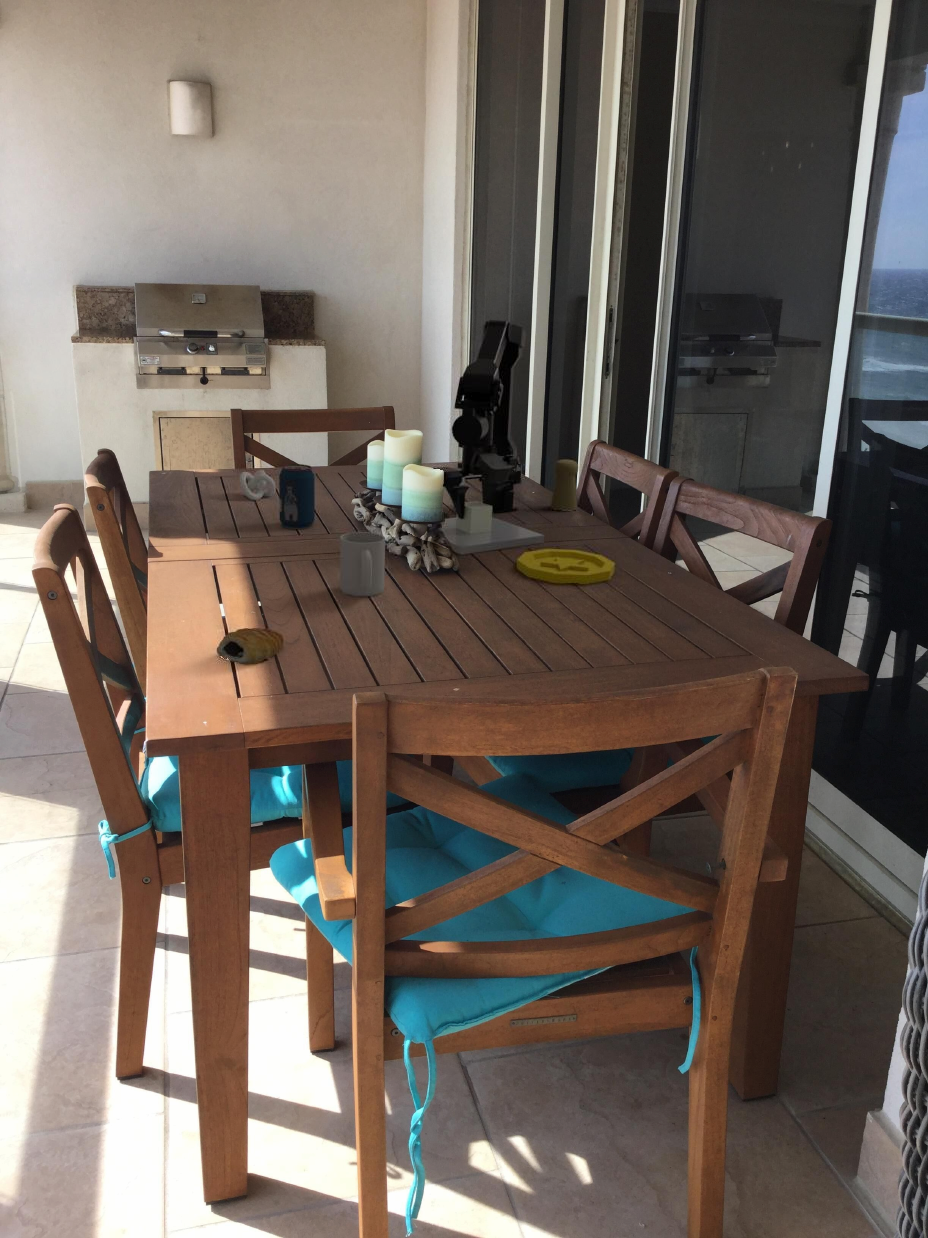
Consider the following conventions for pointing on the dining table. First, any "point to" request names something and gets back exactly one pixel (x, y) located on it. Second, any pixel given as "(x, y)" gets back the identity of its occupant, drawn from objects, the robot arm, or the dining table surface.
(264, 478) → the knot
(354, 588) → the cup
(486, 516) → the sage cube
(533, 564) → the decorative disc
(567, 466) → the cork
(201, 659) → the dining table surface
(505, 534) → the grey tile
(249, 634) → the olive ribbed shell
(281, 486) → the soda can
